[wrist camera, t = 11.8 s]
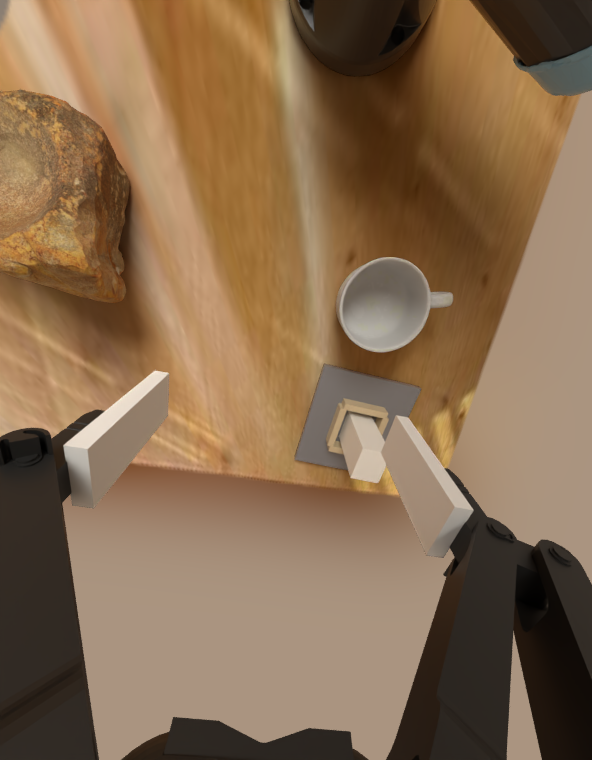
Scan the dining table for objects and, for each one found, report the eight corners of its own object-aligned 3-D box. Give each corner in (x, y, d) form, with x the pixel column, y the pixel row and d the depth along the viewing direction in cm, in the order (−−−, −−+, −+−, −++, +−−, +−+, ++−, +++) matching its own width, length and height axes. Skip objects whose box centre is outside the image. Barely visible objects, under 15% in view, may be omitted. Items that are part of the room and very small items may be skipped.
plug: (348, 410, 46) (363, 448, 36) (371, 416, 46) (391, 454, 37) (338, 436, 47) (350, 477, 38) (361, 441, 48) (378, 483, 39)
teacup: (326, 334, 42) (334, 349, 34) (336, 254, 38) (347, 252, 30) (417, 341, 42) (444, 357, 35) (437, 264, 38) (472, 264, 31)
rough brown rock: (202, 210, 36) (149, 156, 22) (140, 316, 40) (59, 329, 25) (20, 66, 31) (-203, -125, 17) (-33, 201, 35) (-252, 139, 20)
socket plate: (323, 363, 43) (326, 370, 41) (418, 386, 45) (427, 394, 43) (294, 456, 50) (295, 467, 47) (378, 473, 52) (383, 484, 49)
